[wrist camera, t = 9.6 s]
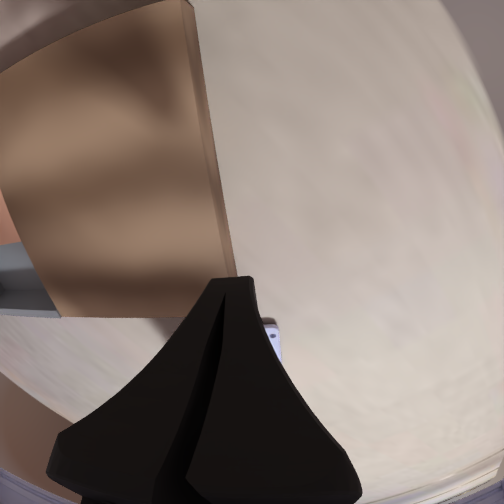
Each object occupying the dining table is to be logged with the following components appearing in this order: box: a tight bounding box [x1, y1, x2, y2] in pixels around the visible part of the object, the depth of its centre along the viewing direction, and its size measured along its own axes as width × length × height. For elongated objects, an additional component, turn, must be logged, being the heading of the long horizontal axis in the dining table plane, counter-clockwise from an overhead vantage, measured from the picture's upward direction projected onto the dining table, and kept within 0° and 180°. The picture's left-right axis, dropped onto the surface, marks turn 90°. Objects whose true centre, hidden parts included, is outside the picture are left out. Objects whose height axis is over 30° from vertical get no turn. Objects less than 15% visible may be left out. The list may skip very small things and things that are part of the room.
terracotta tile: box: [0, 189, 21, 245], centre depth 17 cm, size 4×4×2 cm
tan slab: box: [0, 0, 238, 318], centre depth 17 cm, size 18×14×3 cm
